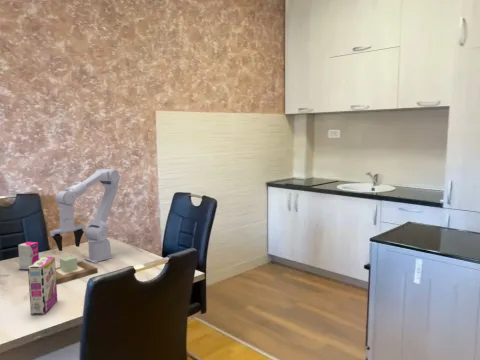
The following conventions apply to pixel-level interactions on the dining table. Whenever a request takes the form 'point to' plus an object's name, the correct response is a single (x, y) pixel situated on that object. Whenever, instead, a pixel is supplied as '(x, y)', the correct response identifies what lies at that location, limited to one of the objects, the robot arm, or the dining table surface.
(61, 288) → the dining table surface
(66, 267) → the sage cube
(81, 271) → the base board
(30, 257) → the supplement box
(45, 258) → the candy bar box
